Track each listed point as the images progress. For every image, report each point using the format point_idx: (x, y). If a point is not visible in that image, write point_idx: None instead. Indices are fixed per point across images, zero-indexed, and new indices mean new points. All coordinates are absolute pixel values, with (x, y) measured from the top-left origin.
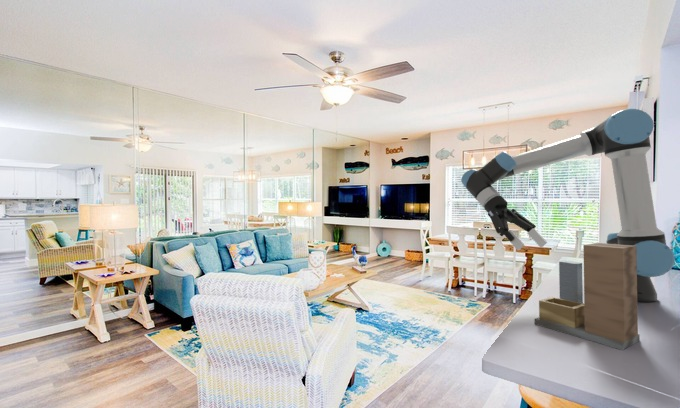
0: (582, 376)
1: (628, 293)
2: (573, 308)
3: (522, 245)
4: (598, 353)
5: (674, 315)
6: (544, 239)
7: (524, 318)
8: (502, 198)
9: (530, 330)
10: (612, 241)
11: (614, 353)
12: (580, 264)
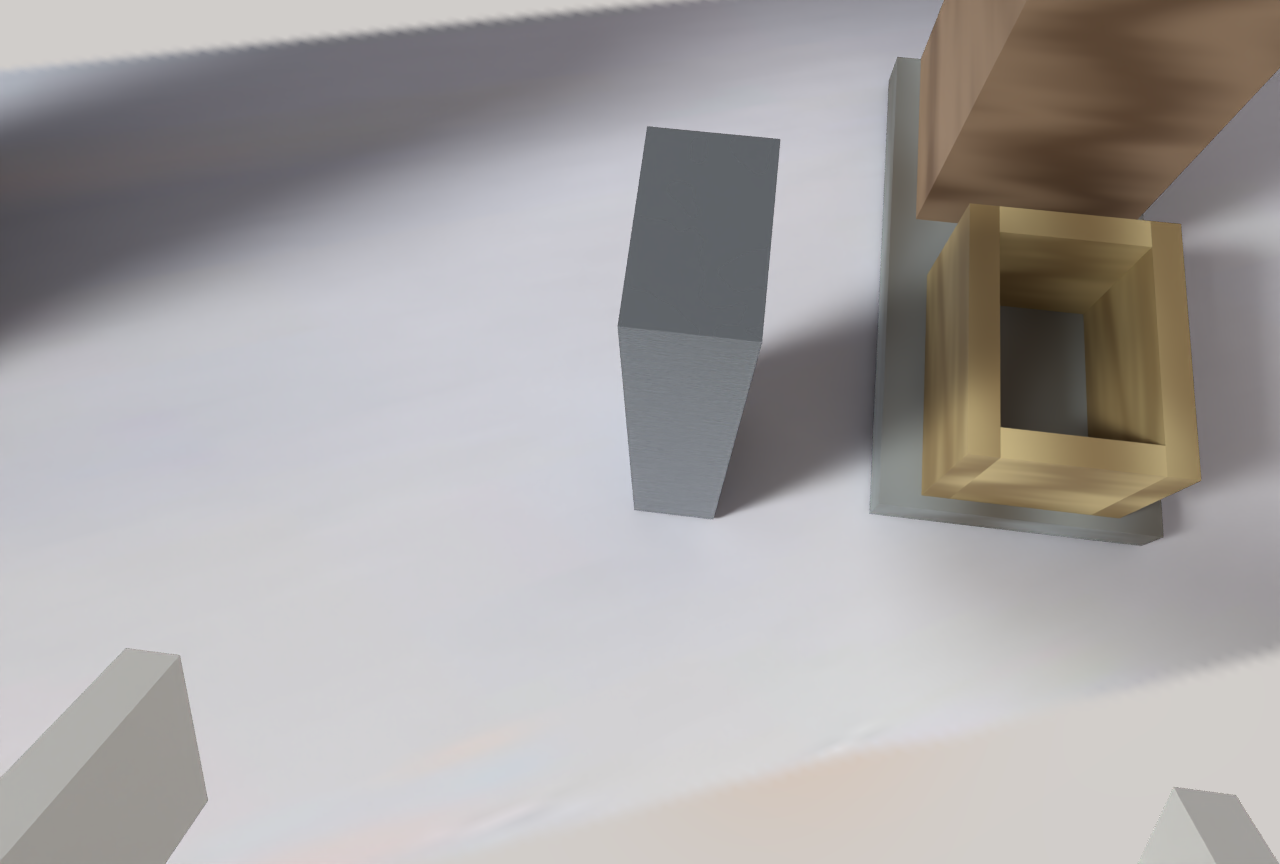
0: None
1: None
2: (1173, 232)
3: (1237, 821)
4: (1257, 164)
5: (183, 51)
6: (58, 722)
7: (1068, 659)
8: None
9: (1276, 518)
10: None
11: None
12: (691, 140)
